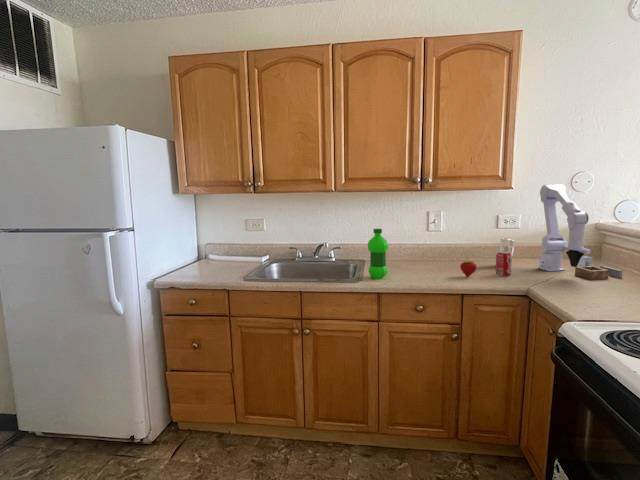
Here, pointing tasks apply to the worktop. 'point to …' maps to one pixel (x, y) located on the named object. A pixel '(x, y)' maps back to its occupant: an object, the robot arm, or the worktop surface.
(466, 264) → the strawberry
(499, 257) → the soda can
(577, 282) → the worktop surface
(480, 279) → the worktop surface
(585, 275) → the square wooden frame
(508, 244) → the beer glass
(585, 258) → the grey rectangular block
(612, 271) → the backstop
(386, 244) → the plastic bottle
